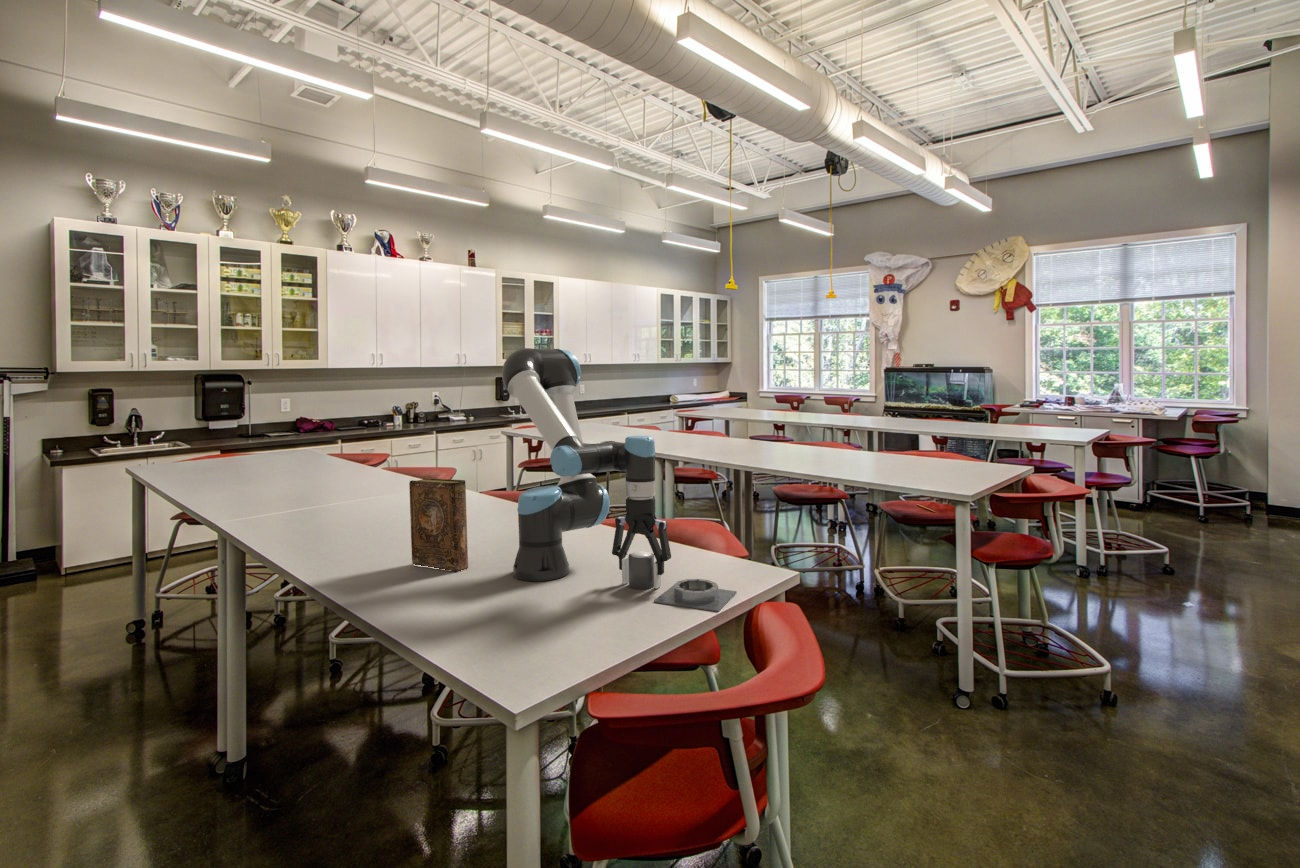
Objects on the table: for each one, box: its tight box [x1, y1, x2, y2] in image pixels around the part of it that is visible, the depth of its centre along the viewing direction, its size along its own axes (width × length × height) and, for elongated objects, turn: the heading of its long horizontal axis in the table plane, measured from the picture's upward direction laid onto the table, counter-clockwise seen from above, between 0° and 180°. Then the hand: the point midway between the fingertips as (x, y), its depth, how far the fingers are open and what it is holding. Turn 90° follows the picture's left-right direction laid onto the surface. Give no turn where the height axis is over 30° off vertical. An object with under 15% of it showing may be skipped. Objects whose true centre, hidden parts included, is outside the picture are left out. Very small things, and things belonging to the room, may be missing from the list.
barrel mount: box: [653, 578, 738, 613], centre depth 152 cm, size 16×14×3 cm
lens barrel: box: [628, 551, 655, 591], centre depth 161 cm, size 6×6×8 cm
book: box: [408, 477, 469, 572], centre depth 179 cm, size 16×6×25 cm, turn 68°
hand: (641, 584), depth 161 cm, fingers open, 8 cm apart
